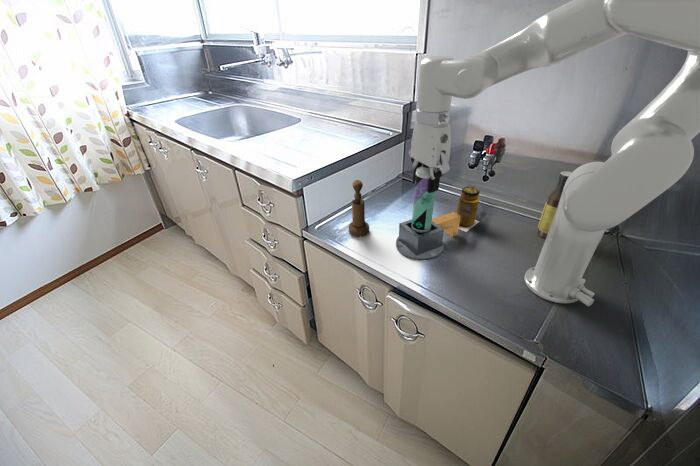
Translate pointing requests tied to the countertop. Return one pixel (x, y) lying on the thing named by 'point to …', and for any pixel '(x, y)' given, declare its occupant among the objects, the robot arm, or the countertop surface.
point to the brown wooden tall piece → (358, 213)
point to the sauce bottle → (552, 205)
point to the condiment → (468, 208)
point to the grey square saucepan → (426, 237)
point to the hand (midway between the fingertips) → (425, 186)
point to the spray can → (422, 201)
